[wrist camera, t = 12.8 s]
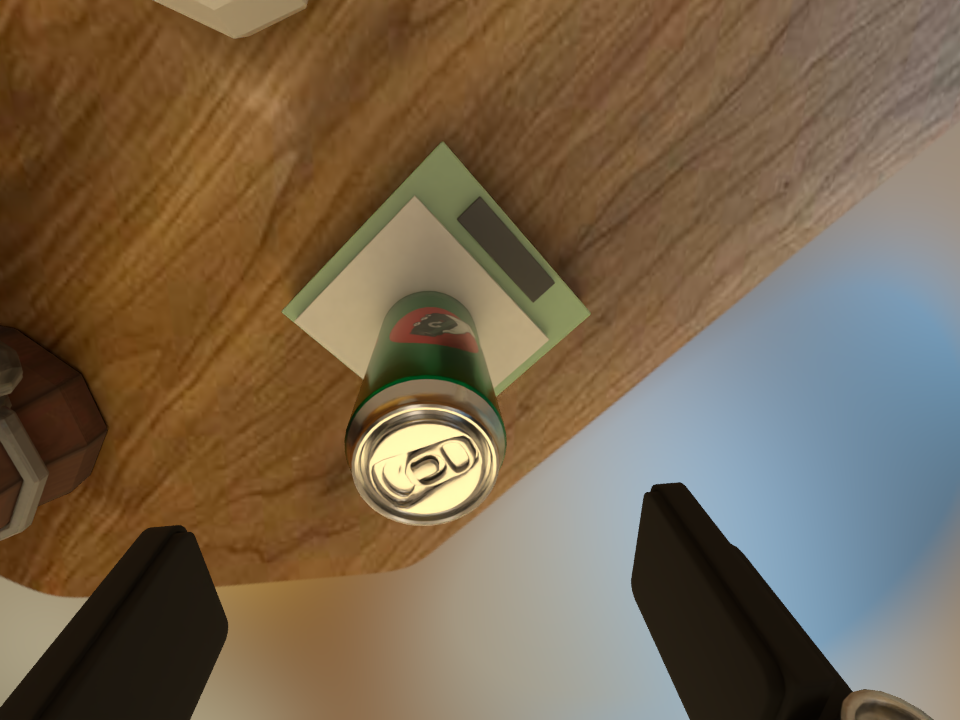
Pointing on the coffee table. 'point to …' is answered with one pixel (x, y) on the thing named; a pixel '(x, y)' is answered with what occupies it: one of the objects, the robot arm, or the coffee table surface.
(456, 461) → the soda can
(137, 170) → the coffee table surface
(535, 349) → the scale
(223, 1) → the white apple
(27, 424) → the mug
